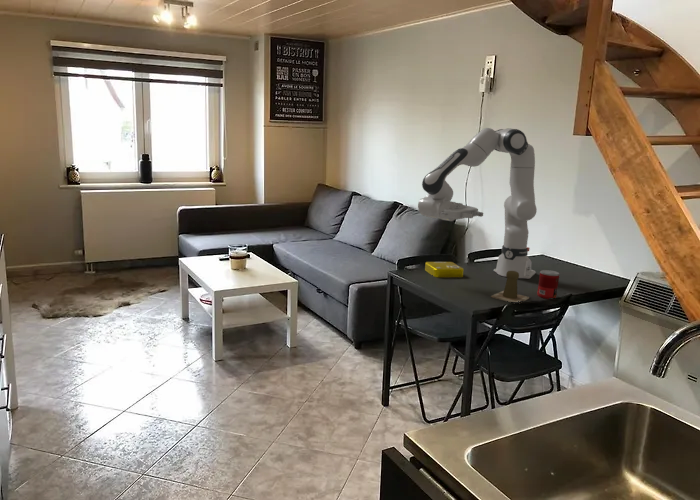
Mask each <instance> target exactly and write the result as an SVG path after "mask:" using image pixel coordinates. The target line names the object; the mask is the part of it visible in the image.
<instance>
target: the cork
mask: <svg viewBox="0 0 700 500" xmlns="http://www.w3.org/2000/svg"><path fill="white" fill-rule="evenodd" d="M519 279H520V278H519V273H518V272H516V271H508V272H507V274H506V281H505V286H504V289H503V291H504V293H503V296H504V297H506V298H512V299H514V298H517V294H518V280H519Z"/></svg>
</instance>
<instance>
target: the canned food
mask: <svg viewBox="0 0 700 500" xmlns="http://www.w3.org/2000/svg"><path fill="white" fill-rule="evenodd" d="M559 280H560V272H558V271H555V270H550V269H549V270H548V269H542V270H540V271H539V277H538V285H537V293H536V295H537V297H539V298H541V299H545V300H550V299H549V298H555V299H556V298H557V296H558V295H557V294H558V289H559V288H558V287H559V282H560V281H559Z"/></svg>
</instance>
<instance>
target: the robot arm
mask: <svg viewBox="0 0 700 500" xmlns="http://www.w3.org/2000/svg"><path fill="white" fill-rule="evenodd" d="M493 151H496V152H501V153H506V154H509V156H510V167H509V168H510V171H509V188H510V194H511V195H509V196H508V197H506V199H505V201H504V203H503V209H504V237H503V243H502V244H503V245H502V246H501V254H500V255H498V257H497V263H496V268H494V269H493V272H495V273H496V274H498V276H502V277H504V278H505V277H506V274H507V272H508V271H516V272H518V273H519V278H518V279H529V280H530V279H531V278H532V277H534V276H535V274H536V270H533V269H532V263H533V262H532V260H531V259H530V258H529V256H528V255H529V253H528V252H530V250H531V249H530V247H528V241H529V228H528V221H530V220H532V219H534V218H535V216H536V215H537V206H536V198H535V197H536V196H535V188H534V187H535V186H534V185H535V184H534V183H535V181H534V180H535V171H536V170H535V168H536V167H535V166H536V156H535V149H534V146H533V145H531V144H529V142H528V140H527V136H526V134H525V133H524V131H522V130H520V129H517V128H501V129H497V130H494V129H493V128H491V127H485V128H483V129H480V130H479V131H478V132H477V133H476V134H475V135H474V136H473V137H472V138H471V139H470V140H469V141H468V143H467V144H466V145H464V146H463V147H460V148H458V149H457V150H455V151H453V152H452V153H451V154H450V155H449V156H448V157H446V158H445V159H444V160H443V161H442V162H441V163H440V164H439V165H438V166H436V168H434V169H433V170H432V171H430V172H428V173H427V174H426V175H425V176H424V178H423V179H422V183H421V186H422V190H423V191H424V192H426V193H427V195H425V196H424V197H423V198H420V199H419V200H418V203H417V209H418V212H419V214H421V215H422V216H424V217H427V218H430V219H431V218H432V219H440V220H442V221H448V222H453V221H455V220H462V219H473V218H474V217H483V216H484V212H481V211H479V209H478V208H477V207H474V206H470V205H467V204H463V203H462V202H456V201H452V199H453V196H454V189H453V188H452V187H451V186H450V184H449V183H448V182H447V181H446V178H447V177H448V176H449V175H450V174H451V173H452V172H453V171H454V170H455V169H456V168H458V167H459V166H462V165H464V166H467V167H474V168H475V167H478V166H480V165H481V164H483V163H484V162H485V161H486V159H487V158H488V157H489V156H490V154H491V153H492V152H493ZM506 278H507V277H506Z"/></svg>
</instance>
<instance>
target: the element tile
mask: <svg viewBox="0 0 700 500" xmlns="http://www.w3.org/2000/svg"><path fill="white" fill-rule="evenodd" d="M424 271H426V272H427V273H428V274H430V275H431V276H432V275H433V276H432V277H434V278H463V277H464V271H465V269H464V267H462V266H459V264H458V265H457V264H456V263H454V262H453V261H426V262H425V266H424Z"/></svg>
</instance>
